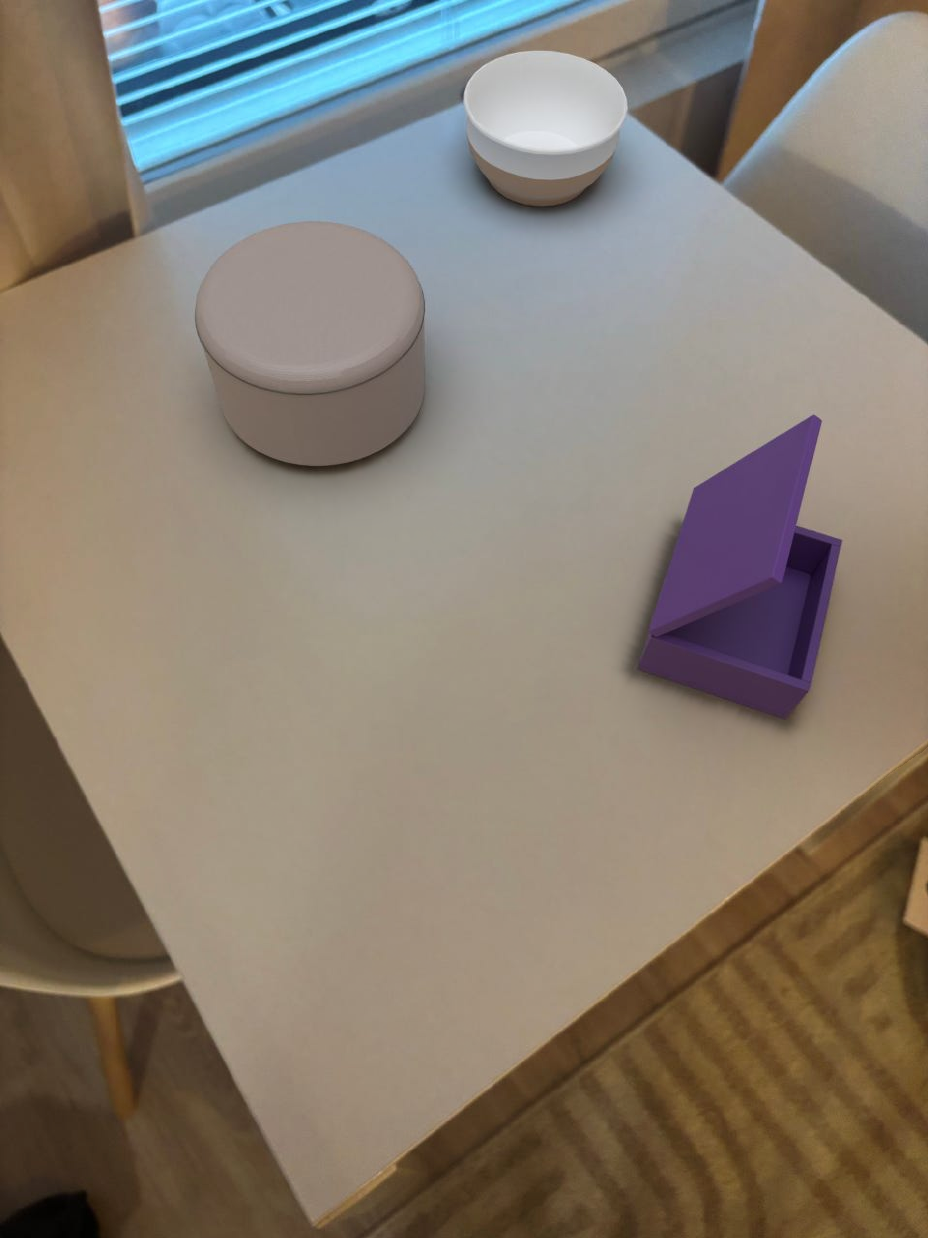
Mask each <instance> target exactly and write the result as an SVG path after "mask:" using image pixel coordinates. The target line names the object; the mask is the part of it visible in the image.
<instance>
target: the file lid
mask: <svg viewBox="0 0 928 1238" xmlns="http://www.w3.org/2000/svg"><path fill="white" fill-rule="evenodd" d="M822 423H823V420H822V419H821V418H820V417H819V416H817V415H816V414H812V415H810V416H809V417H807V418H805V419H804V420H801V422H798V423H797V424H795V425H794V426H792V427H790V428H788V429H787V430H785V431H784V432H782V433H781V434H779V435H777V436H776V437H774V438H773V439H770V441H767V442H766V443H764V444H763V445H762V446H759V447H758V448H756V449H755V450H753V451H751V452H750V453H748V454H747V455H745V456H744V457H742V458H740V459H738V460H737V461H735V462H734V463H732V464H730V465H728V466H727V467H725V468H724V469H722V470H720V471H719V472H718V473H716V474H714V475H712V476H711V477H709V478H708V479H706V480H705V481H703V482H701V483H699V484H698V485H696V486H695V487H693V490H692V493H691V496H690V500H689V503H688V505H687V509H686V511H685V515H684V518H683V520H682V523H681V528H680V531H679V533H678V537H677V540H676V543H675V546H674V549H673V553H672V556H671V559H670V562H669V565H668V568H667V571H666V574H665V577H664V581H663V584H662V587H661V590H660V593H659V597H658V599H657V603H656V607H655V609H654V612H653V615H652V618H651V622H650V625H649V628H648V630H647V632H649V633H651V634H652V635H654V636H655V637H658V636H660V635H662V634H665V633H667V632H669V631H672V630H674V629H676V628H679V627H681V626H683V625H686V624H688V623H690V622H693V621H695V620H697V619H700V618H702V617H704V616H707V615H709V614H711V613H714V612H716V611H718V610H721V609H723V608H725V607H728V606H730V605H732V604H735V603H737V602H739V601H742V600H744V599H746V598H749V597H751V596H753V595H756V594H758V593H760V592H763V591H765V590H767V589H770V588H772V587H774V586H777V585H779V584H781V583H782V580H783V576H784V572H785V568H786V564H787V560H788V556H789V552H790V548H791V544H792V540H793V536H794V532H795V528H796V526H797V523H798V519H799V515H800V511H801V508H802V503H803V500H804V495H805V493H806V492H805V491H806V487H807V483H808V479H809V475H810V471H811V467H812V464H813V458H814V455H815V452H816V448H817V447H816V446H817V443H818V440H819V435H820V430H821V428H822V427H821V426H822Z"/></svg>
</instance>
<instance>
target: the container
mask: <svg viewBox="0 0 928 1238" xmlns="http://www.w3.org/2000/svg"><path fill="white" fill-rule="evenodd" d="M196 296H197V297H196V301H195V309H194V324H195V329H196V333H197V336H198V339H199V341H200V343H201V346H202V349H203V352H204V355H205V360H206V362H207V363H206V364H207V367H208V369H209V373H210V375H211V378H212V382H213V386H214V389H215V392H216V395H217V398H218V402H219V405H220V409H221V411H222V414H223V416H224V418H225V420H226V423H227V425H229V427H230V428H231V430H232V431H233V432H234V434H236V435H237V436H238V438H239V439H240V440H241V441H243V442H244V443H245V444H247V445H248V446H249V447H251V448H252V449H253V450H255V451H257V452H259V453H260V454H263V455H265V456H267V457H269V458H272V459H274V460H277V461H281V462H284V463H288V464H294V465H299V466H309V467H310V466H311V467H321V466H323V467H324V466H333V465H334V466H336V465H340V464H347V463H350V462H354V461H357V460H361V459H363V458H366V457H369V456H371V455H373V454H375V453H377V452H379V451H381V450H383V449H384V448H386V447H388V446H389V445H391V444H392V443H393V442H395V441H396V440H397V439H398V438H399V437H401V436H402V435H403V434H404V432H406V431H407V429H408V428H409V427H410V426H411V425H412V424H413V422H414V420H415V419H416V417H417V415H418V414H419V412H420V409H421V407H422V405H423V401H424V398H425V392H426V349H425V348H426V345H425V344H426V341H425V336H426V335H425V315H426V300H425V294H424V290H423V288H422V285H421V282H420V280H419V278H418V276H417V274H416V272H415V270H414V268H413V267H412V265H411V264H410V262H409V261H408V260H407V259H406V258H405V256H403V254H402V253H401V252H400V251H399V250H397V248H395V247H394V246H393V245H392V244H390V243H389V242H387V241H386V240H384V239H383V238H381V237H380V236H377V235H376V234H373V233H371V232H369V231H366V230H364V229H361V228H357V227H354V226H352V225H347V224H343V223H339V222H338V223H337V222H333V221H332V222H330V221H319V220H317V221H297V222H290V223H284V224H280V225H274V226H272V227H269V228H264V229H263V230H260V231H258V232H255V233H252V234H251V235H249V236H247V237H245V238H243V239H241V240H240V241H237V243H235V244H233V245H232V246H230V248H228V249H227V250H225V251H224V252H223V253H222V254H221V255H220V256H219V257H218V258H217V259H216V260H215V261H214V263H213V264H212V265H211V266H210V267H209V269H208V271H207V272H206V273H205V275H204V277H203V280H202V282H201V284H200V286H199V288H198V292H197V295H196Z"/></svg>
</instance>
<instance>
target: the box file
mask: <svg viewBox="0 0 928 1238" xmlns="http://www.w3.org/2000/svg"><path fill="white" fill-rule="evenodd" d="M842 544H843V539H841V538H837V537H834V536H831V535H828V534H826V533H825V534H824V533H822V532H818V531H815V530H812V529H809V528H806V527H803V526H799V525H796V528H795V532H794V536H793V540H792V544H791V548H790V552H789V556H788V560H787V564H786V568H785V572H784V576H783V580H782V583H781V584H779V585H777V586H774V587H772V588H770V589H767V590H765V591H763V592H760V593H758V594H756V595H753V596H751V597H749V598H746V599H744V600H742V601H739V602H737V603H735V604H732V605H730V606H728V607H725V608H723V609H721V610H718V611H716V612H714V613H711V614H709V615H707V616H704V617H702V618H700V619H697V620H695V621H693V622H690V623H688V624H686V625H683V626H681V627H679V628H676V629H674V630H672V631H669V632H667V633H665V634H662V635H660V636H658V637H655V636H654V635H652V634H651V633H649V632H648V631H647V632H648V633H647V636H646V639H645V642H644V645H643V648H642V652H641V655H640V658H639V661H638V664H637V667H636V669H637V670H639V671H643V672H645V673H649V674H651V675H654V676H657V677H660V678H663V679H665V680H668V681H672V682H674V683H677V684H680V685H683V686H687V687H689V688H692V689H695V690H697V691H701V692H704V693H706V694H709V695H712V696H716V697H718V698H721V699H724V700H728V701H730V702H733V703H736V704H738V705H742V706H744V707H748V708H750V709H754V710H757V711H760V712H762V713H765V714H769V715H771V716H774V717H777V718H780V719H783V720H786V719H787V718H788V716H789V715H790V714H791V713H792V712H793V711H794V710H795V709H796V707H797V706H798V705H799V704H800V703H801V701H802V700H804V698H805V697H806V696H807V694H808V693H809V692H811V691H810V690H811V686H812V681H813V677H814V672H815V668H816V665H817V664H816V663H817V659H818V654H819V650H820V645H821V640H822V635H823V633H824V628H825V622H826V618H827V612H828V608H829V604H830V599H831V595H832V591H833V585H834V581H835V576H836V573H837V567H838V563H839V558H840V553H841V549H842Z"/></svg>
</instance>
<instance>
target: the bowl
mask: <svg viewBox="0 0 928 1238" xmlns="http://www.w3.org/2000/svg"><path fill="white" fill-rule="evenodd" d="M463 91H464V92H463V98H462V99H463V108H464V111H465V113H466V127H465V132H466V137H467V144H468V148H469V151H470V154H471V156H472V158H473V160H474V162H475V163H476V166H477V167H478V168H479V171H480V172H481V173H482V174H483V175H484V176H485V177H486V178H487V179H488V181H489V183H490V185H491V186H492V188H493V189H495V191H496V192H497V193H499V194H500V195H502V196H503V197H504V198H506V199H508V200H510V201H512V202H515V203H518V204H522V205H524V206H532V207H551V206H557V205H561V204H562V205H563V204H565V203H567V202H570V201H572V200H574V199H575V198H577V197H579V195H581V194H582V193H583V192H584V191H585V190H586V188H587V187H589V186H590V185H592V184H594V182H595V181H597V180H598V178H600V176H601V175H602V174H603V173H604V171H605V170H606V169H607V168H608V167H609V165H610V163H611V161H612V160H613V157H614V154H615V151H616V149H617V147H618V143H619V139H620V131H621V128H622V127H623V125H624V124H625V122H626V120H627V115H628V112H629V111H628V110H629V107H628V105H629V104H628V98H627V96H626V93H625V90H624V89H623V86H622V85H621V84H620V83H619V81H618V80H617V78H616V77H614V76H613V75H612V74H611V73H610V72H609V71H607V70H606V69H605V68H603V67H602V66H600V65H598V64H597V63H595V62H593V61H591V60H589V59H585V58H583V57H581V56H577V55H574V54H571V53H565V52H559V51H553V50H527V51H519V52H513V53H509V54H506V55H502V56H500V57H497V58H494V59H493V60H491V61H489V62H487V63H485V64H484V65H482V66H481V67H480V68H478V70H476V71H475V72H474V73H473V74H472V76H471V77H470V78H469V80H468V81H467V83H466V86H465V88H464V90H463Z"/></svg>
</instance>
